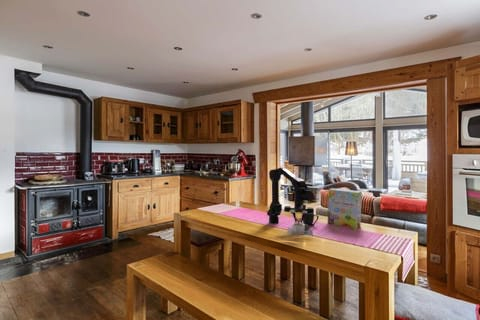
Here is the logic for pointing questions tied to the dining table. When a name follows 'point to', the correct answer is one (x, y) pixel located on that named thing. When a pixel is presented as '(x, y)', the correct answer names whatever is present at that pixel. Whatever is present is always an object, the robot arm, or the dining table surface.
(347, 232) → the dining table surface
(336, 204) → the snack box
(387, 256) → the dining table surface
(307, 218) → the mug
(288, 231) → the slate board
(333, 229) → the dining table surface
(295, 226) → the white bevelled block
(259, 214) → the dining table surface
